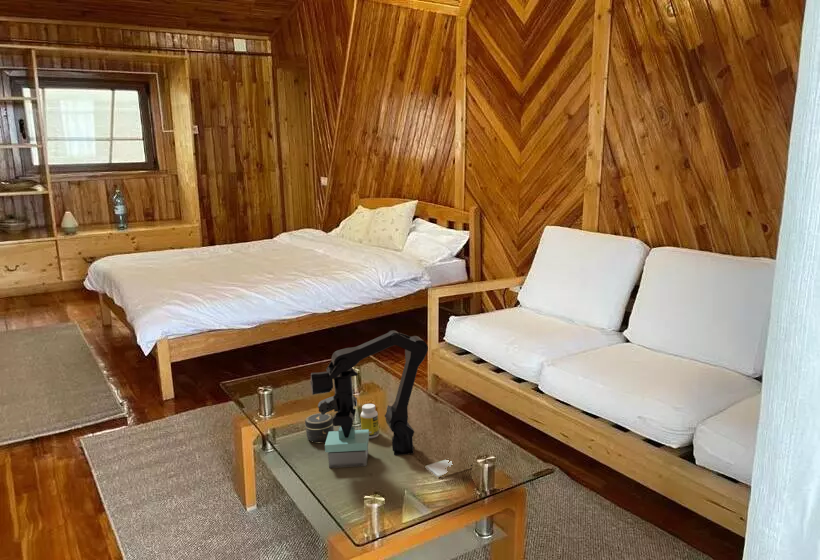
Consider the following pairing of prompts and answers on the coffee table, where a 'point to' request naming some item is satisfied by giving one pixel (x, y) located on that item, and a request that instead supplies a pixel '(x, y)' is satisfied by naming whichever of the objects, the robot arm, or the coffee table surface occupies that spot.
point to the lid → (347, 440)
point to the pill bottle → (370, 420)
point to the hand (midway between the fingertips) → (347, 435)
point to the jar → (318, 427)
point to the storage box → (348, 458)
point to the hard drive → (439, 467)
